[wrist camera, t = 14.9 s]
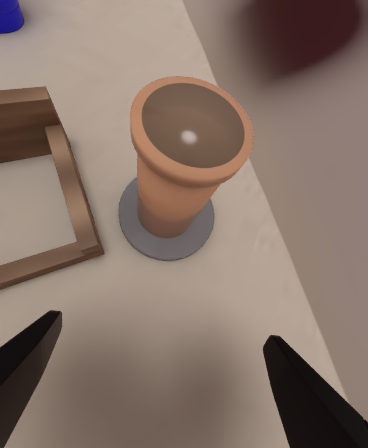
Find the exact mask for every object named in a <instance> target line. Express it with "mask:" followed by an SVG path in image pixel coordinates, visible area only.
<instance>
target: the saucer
mask: <svg viewBox="0 0 368 448" xmlns="http://www.w3.org/2000/svg"><path fill="white" fill-rule="evenodd" d="M119 219H120V224H121V228H122V231H123V233H124V235H125V237H126V238H127V240H128V241H129V242H130V244H131V245H132V246H133V247H134V248H135V249H137V250H138V251H139V252H141V253H142V254H144V255H146V256H148V257H151V258H154V259H158V260H167V261H170V260H177V259H182V258H184V257H187V256H189V255H191V254H193V253H194V252H195V251H197V250H198V249H199V248H200V247H201V246H202V245H203V244H204V243H205V242H206V241H207V239H208V238H209V236H210V234H211V232H212V229H213V225H214V209H213V205H212V202H211V199H209V200H208V202H207V203H206V204H205V206H204V207H203V209H202V210H201V211H200V213H199V214H198V215H197V217H196V218H195V219H194V221H193V222H192V224H191V225H190V226H189V228H188V229H187V230H186V231H185V232H184V233H182V234H181V235H179V236H177V237H173V238H160V237H157V236H154V235H152V234H150V233H149V232H148V231H146V230H145V229H144V228H143V226H142V225H141V223H140V221H139V219H138V215H137V178H135V179H134V180H133V181H132V182H131V183H130V184H129V185H128V186H127V187H126V189H125V191H124V192H123V194H122V197H121V200H120V203H119Z"/></svg>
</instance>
